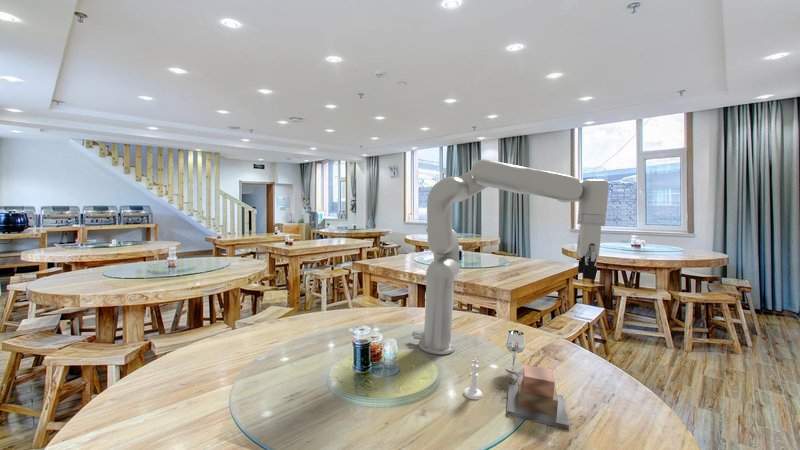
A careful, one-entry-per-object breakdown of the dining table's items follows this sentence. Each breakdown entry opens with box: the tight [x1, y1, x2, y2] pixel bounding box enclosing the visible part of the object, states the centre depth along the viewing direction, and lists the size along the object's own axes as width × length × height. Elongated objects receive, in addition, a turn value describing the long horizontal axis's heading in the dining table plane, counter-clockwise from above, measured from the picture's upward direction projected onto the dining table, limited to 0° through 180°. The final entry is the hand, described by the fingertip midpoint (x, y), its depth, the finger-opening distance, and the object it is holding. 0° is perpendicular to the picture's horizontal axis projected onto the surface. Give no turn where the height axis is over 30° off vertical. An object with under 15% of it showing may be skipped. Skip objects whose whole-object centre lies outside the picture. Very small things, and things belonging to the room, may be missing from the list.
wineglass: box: [505, 329, 526, 370], centre depth 112 cm, size 6×6×12 cm
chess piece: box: [463, 358, 483, 401], centre depth 96 cm, size 5×5×10 cm
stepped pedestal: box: [506, 364, 570, 430], centre depth 92 cm, size 14×14×9 cm
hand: (586, 275), depth 110 cm, fingers open, 9 cm apart
